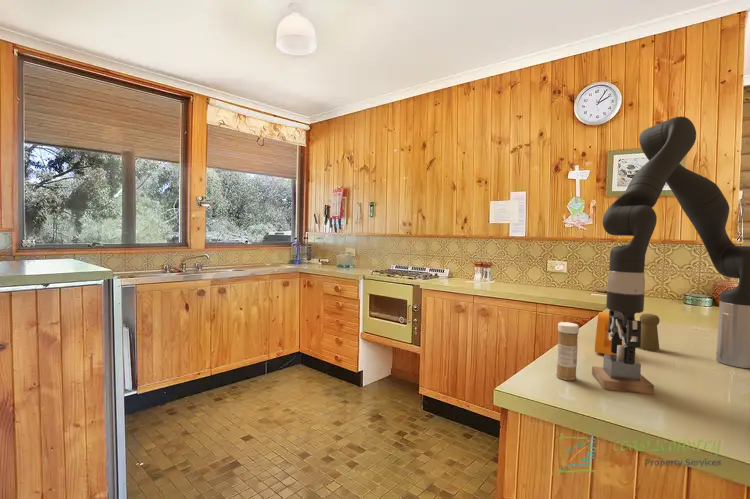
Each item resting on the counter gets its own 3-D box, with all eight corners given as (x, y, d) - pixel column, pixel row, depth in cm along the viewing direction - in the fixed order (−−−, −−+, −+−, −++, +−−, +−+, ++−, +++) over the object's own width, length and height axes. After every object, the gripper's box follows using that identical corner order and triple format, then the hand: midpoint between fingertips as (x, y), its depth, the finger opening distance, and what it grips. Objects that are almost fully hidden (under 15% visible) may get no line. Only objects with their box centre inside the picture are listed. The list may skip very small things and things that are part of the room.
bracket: (622, 359, 114) (625, 318, 114) (594, 354, 119) (596, 314, 118) (627, 351, 123) (629, 312, 122) (600, 346, 127) (602, 309, 127)
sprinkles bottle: (564, 373, 101) (566, 321, 101) (580, 379, 97) (583, 325, 96) (551, 376, 99) (554, 322, 99) (567, 382, 95) (570, 326, 94)
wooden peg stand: (636, 378, 99) (638, 342, 98) (653, 394, 89) (655, 354, 89) (591, 374, 101) (593, 339, 101) (603, 388, 92) (605, 350, 91)
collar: (630, 372, 97) (631, 356, 97) (640, 381, 91) (641, 363, 91) (603, 369, 99) (603, 353, 99) (610, 378, 93) (611, 361, 93)
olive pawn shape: (658, 348, 127) (660, 313, 127) (660, 352, 122) (662, 317, 122) (636, 344, 130) (638, 311, 130) (636, 349, 125) (638, 314, 125)
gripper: (656, 296, 86) (652, 369, 87) (632, 287, 100) (628, 351, 101) (617, 293, 88) (614, 366, 89) (599, 286, 102) (596, 348, 103)
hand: (622, 358), depth 95 cm, fingers open, 8 cm apart
